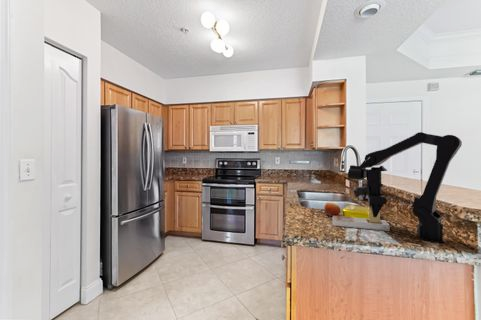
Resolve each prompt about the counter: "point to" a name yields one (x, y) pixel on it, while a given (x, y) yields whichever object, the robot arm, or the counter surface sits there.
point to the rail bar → (359, 223)
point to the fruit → (331, 209)
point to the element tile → (355, 211)
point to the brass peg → (370, 216)
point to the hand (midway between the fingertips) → (373, 216)
